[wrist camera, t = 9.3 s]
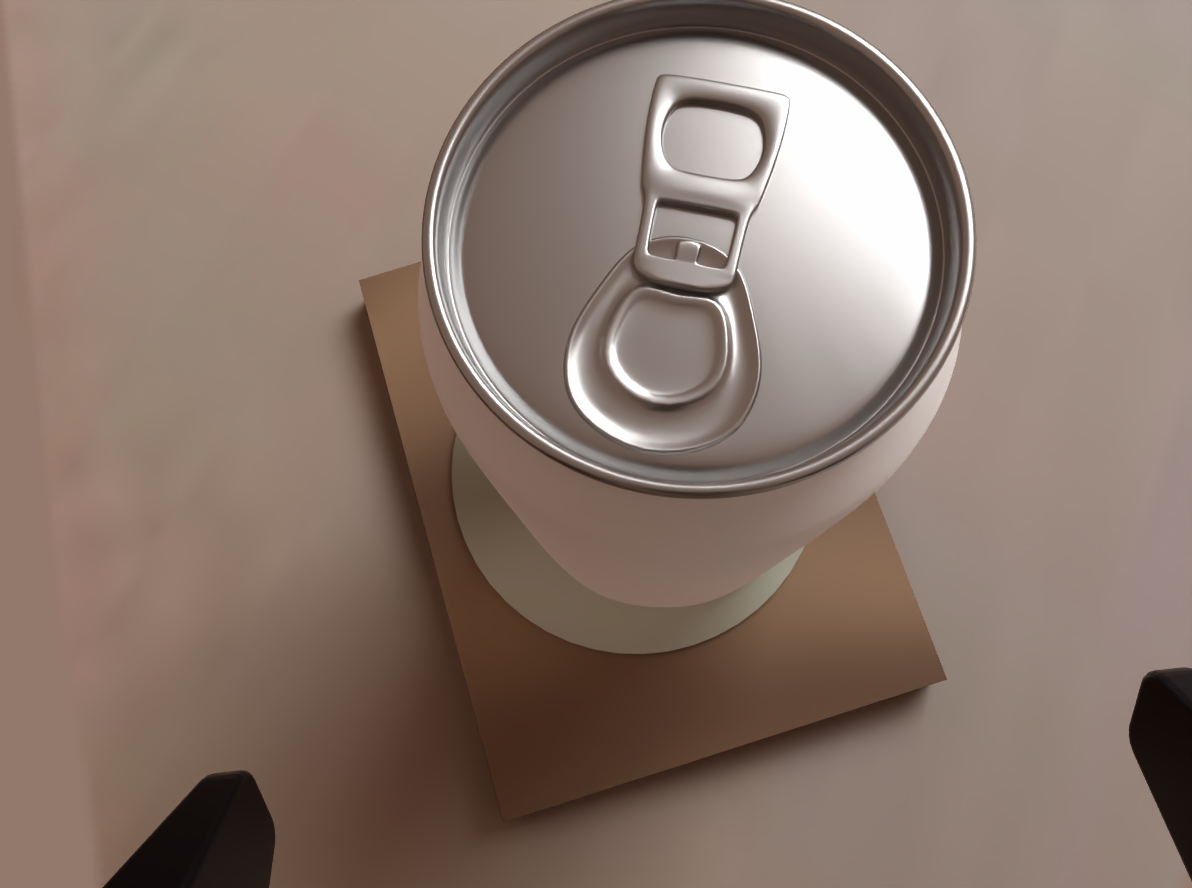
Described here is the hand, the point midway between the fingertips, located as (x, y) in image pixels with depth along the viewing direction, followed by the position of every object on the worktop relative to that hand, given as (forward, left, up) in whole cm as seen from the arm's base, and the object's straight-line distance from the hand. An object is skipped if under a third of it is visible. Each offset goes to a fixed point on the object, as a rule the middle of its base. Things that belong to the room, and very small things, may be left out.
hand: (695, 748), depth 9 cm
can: (+5, -2, -11) cm, 12 cm away
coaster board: (+5, -1, -12) cm, 13 cm away
